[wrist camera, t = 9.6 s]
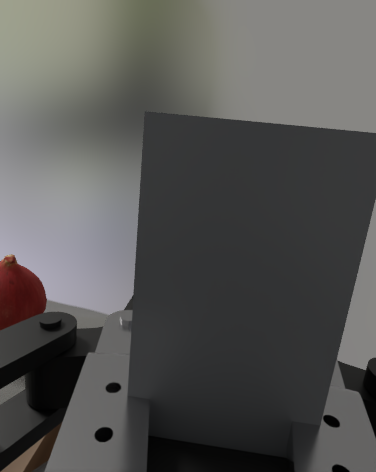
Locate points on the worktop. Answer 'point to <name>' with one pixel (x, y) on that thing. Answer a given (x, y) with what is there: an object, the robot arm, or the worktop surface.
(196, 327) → the panel
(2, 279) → the onion
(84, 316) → the worktop surface
